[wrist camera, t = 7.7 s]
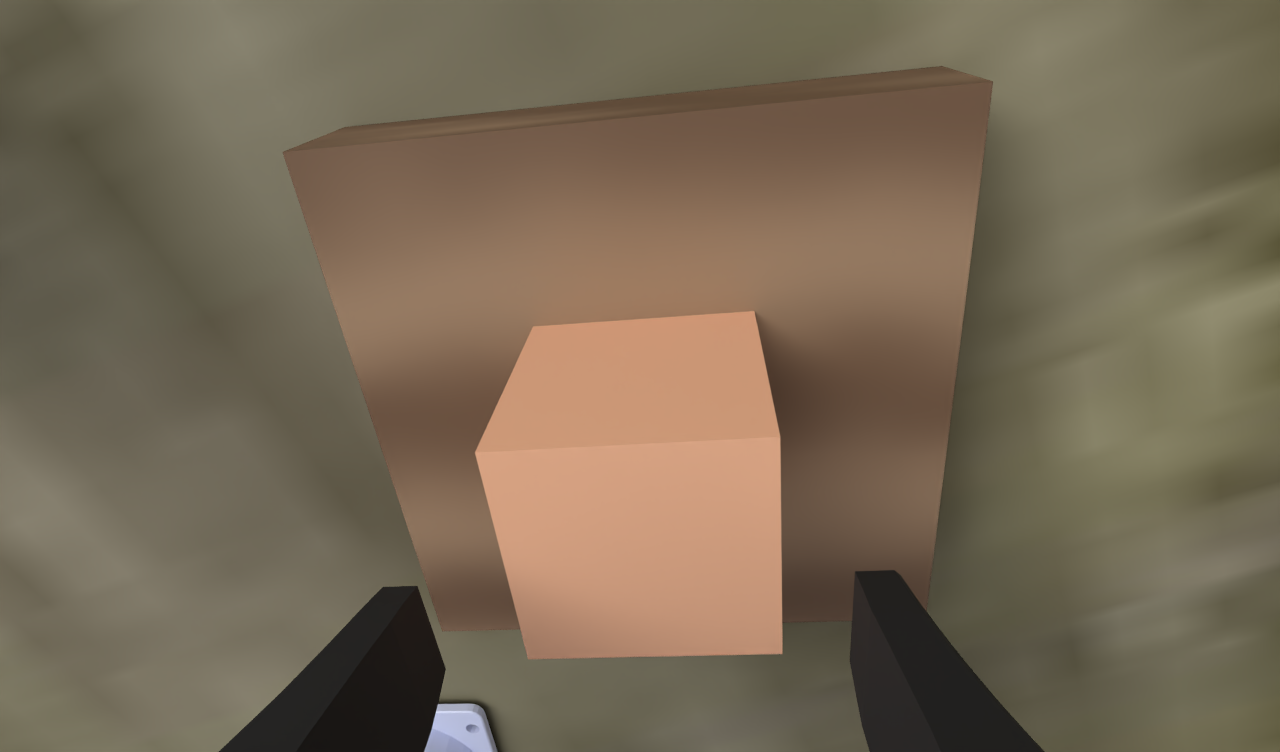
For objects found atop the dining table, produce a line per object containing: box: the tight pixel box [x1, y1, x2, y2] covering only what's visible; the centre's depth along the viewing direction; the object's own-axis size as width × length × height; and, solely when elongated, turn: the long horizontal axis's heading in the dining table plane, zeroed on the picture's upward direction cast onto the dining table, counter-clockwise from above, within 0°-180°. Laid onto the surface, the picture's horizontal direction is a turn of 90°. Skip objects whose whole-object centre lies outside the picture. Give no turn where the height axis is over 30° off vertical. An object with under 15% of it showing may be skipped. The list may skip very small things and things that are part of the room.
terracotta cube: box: [475, 311, 782, 659], centre depth 15 cm, size 5×5×5 cm
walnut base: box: [283, 66, 993, 631], centre depth 18 cm, size 14×14×3 cm
